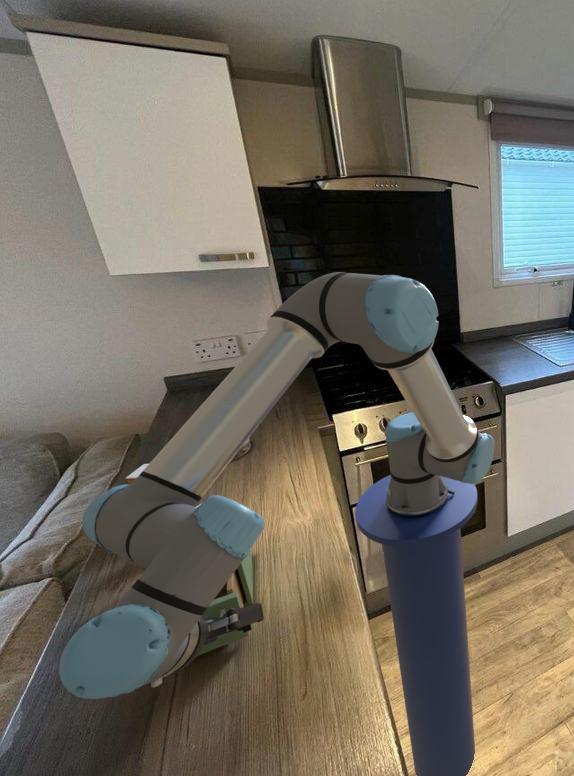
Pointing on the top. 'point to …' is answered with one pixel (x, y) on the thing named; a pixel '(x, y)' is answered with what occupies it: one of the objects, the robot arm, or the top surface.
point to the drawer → (221, 604)
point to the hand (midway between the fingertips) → (204, 636)
